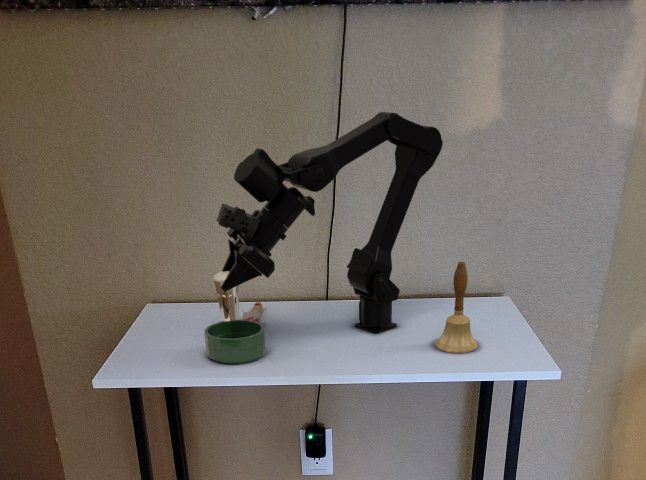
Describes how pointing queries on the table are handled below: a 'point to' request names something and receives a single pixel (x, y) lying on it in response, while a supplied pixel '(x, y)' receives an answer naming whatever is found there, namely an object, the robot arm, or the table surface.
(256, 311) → the paintbrush
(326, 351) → the table surface
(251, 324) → the bowl
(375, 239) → the robot arm
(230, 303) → the milkshake
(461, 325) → the hand bell
